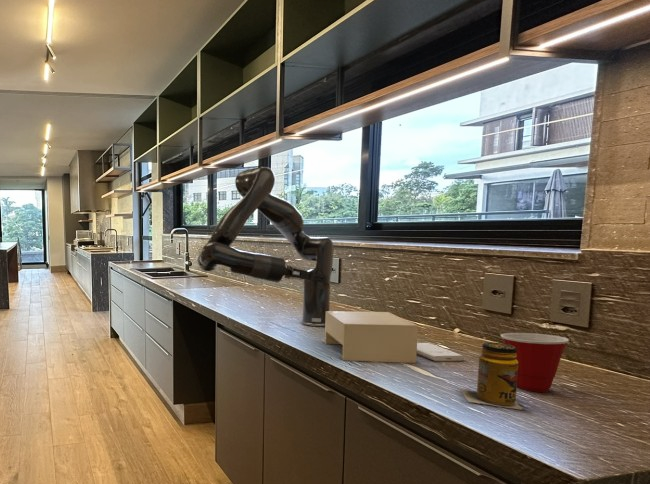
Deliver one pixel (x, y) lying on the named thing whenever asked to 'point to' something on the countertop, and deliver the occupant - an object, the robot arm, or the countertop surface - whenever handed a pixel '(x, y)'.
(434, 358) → the hard drive
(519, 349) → the plastic cup
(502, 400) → the condiment
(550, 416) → the countertop surface
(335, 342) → the cover
